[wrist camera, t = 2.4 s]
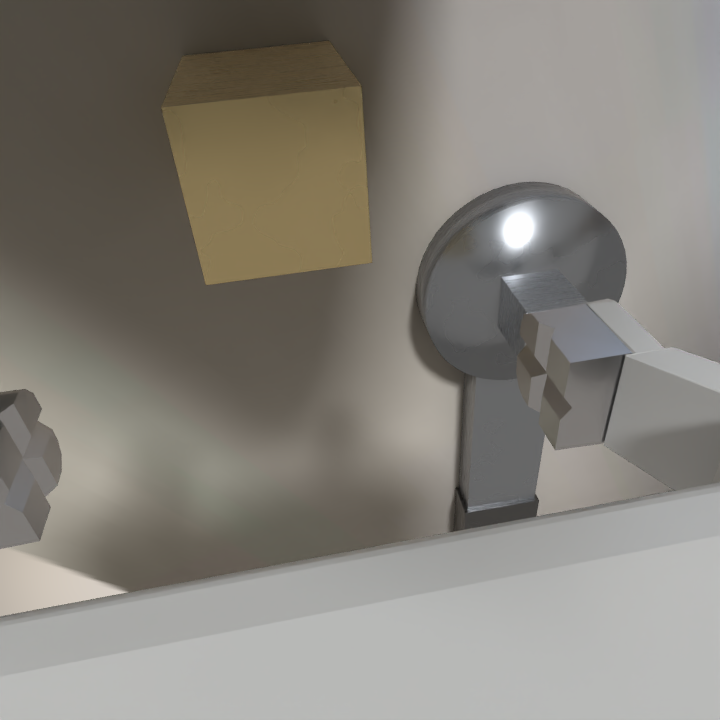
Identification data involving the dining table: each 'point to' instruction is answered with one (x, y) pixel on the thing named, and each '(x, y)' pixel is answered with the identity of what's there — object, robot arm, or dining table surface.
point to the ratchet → (508, 324)
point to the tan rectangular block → (271, 160)
